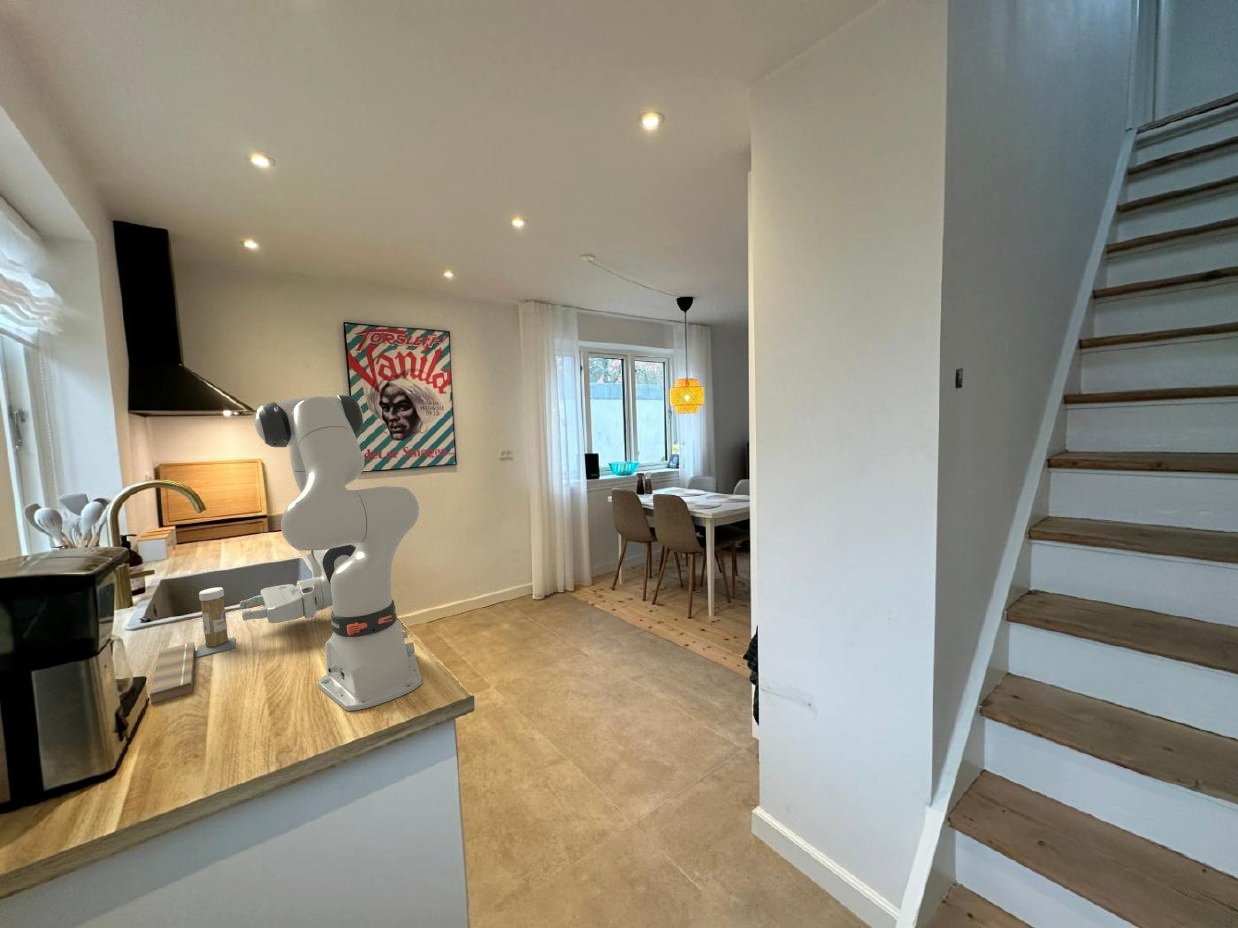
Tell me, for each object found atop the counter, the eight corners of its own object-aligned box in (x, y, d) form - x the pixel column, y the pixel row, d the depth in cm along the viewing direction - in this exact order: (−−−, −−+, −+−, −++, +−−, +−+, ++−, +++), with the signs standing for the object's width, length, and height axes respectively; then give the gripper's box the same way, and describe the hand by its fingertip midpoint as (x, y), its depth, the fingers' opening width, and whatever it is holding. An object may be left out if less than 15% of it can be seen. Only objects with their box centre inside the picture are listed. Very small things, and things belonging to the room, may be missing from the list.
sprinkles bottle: (227, 644, 119) (222, 590, 118) (203, 649, 116) (197, 594, 115) (229, 637, 123) (224, 585, 121) (206, 642, 120) (200, 589, 119)
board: (192, 691, 98) (190, 681, 98) (151, 703, 95) (149, 693, 94) (195, 650, 117) (194, 641, 117) (160, 658, 113) (159, 649, 113)
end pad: (235, 647, 117) (235, 646, 117) (197, 657, 113) (197, 656, 113) (234, 638, 123) (234, 636, 123) (197, 647, 118) (197, 646, 118)
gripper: (299, 575, 137) (237, 587, 128) (312, 594, 121) (242, 610, 112) (302, 597, 137) (240, 610, 129) (314, 618, 122) (245, 636, 113)
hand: (241, 610), depth 120 cm, fingers open, 8 cm apart
